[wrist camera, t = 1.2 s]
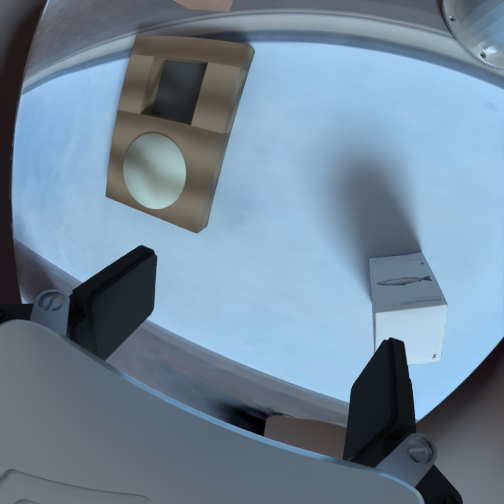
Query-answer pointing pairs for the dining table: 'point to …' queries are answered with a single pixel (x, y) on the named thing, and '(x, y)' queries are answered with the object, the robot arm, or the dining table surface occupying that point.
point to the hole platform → (175, 125)
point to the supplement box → (408, 306)
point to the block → (206, 4)
